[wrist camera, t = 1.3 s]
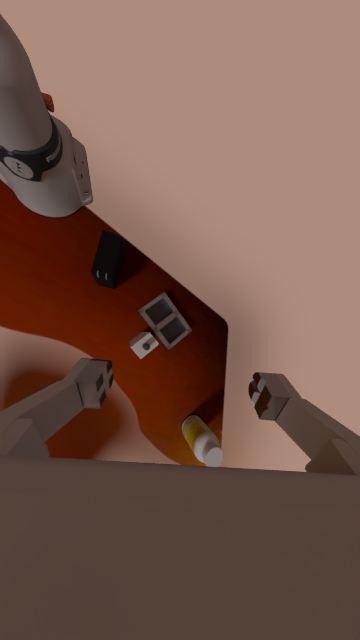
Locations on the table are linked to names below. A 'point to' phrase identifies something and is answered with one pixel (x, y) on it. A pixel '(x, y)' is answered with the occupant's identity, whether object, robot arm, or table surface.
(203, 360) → the table surface
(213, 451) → the supplement bottle
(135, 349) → the plug
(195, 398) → the table surface
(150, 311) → the socket box
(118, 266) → the electronic device
